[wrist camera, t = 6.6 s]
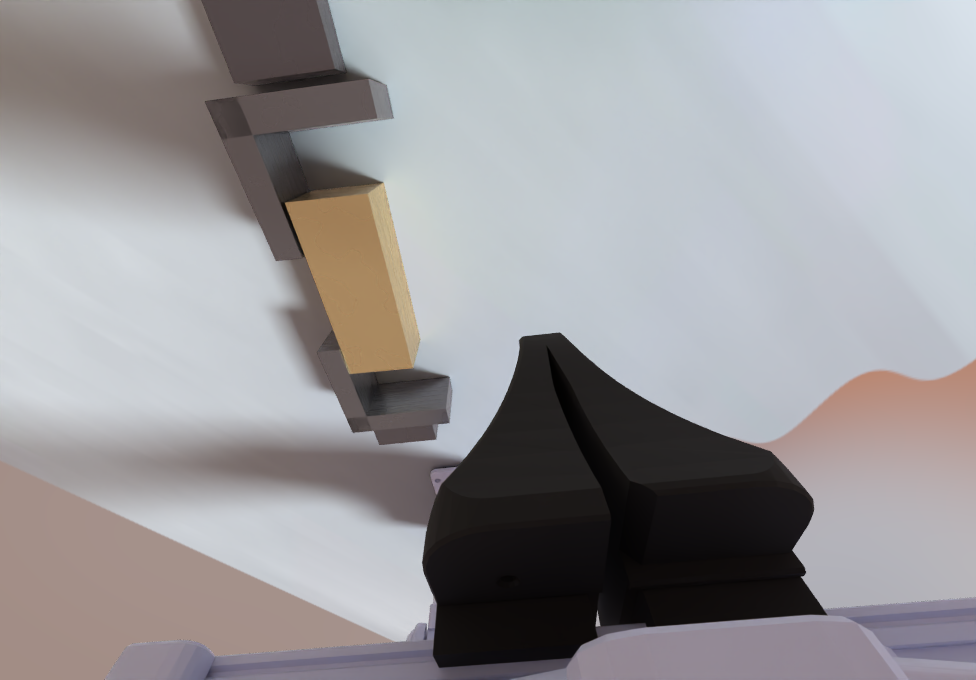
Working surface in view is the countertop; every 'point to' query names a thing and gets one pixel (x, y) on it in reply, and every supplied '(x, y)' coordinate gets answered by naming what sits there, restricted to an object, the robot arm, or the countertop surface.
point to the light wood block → (359, 274)
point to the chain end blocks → (279, 178)
